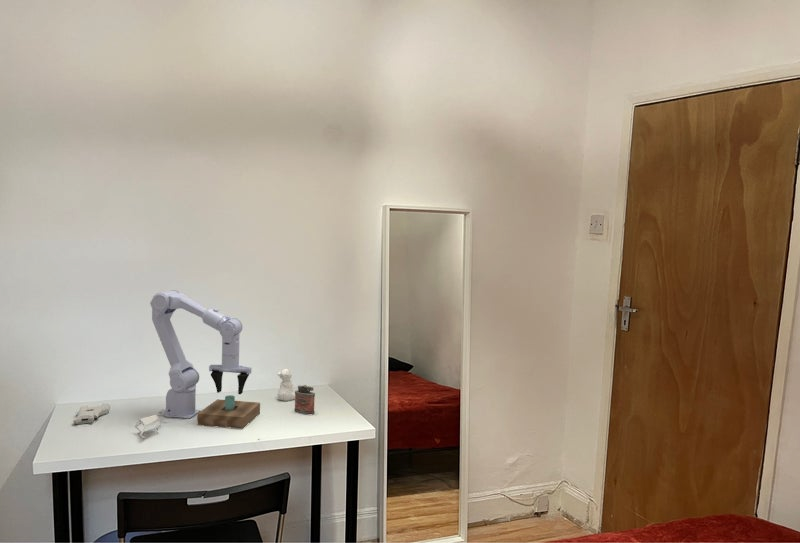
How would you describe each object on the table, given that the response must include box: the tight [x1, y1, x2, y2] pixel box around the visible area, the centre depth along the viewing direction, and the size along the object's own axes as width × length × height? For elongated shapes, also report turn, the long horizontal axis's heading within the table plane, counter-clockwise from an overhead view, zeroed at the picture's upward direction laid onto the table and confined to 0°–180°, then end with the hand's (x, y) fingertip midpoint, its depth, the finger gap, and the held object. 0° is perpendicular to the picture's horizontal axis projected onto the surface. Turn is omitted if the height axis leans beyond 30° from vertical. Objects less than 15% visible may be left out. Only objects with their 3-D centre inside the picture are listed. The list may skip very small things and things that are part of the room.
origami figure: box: [133, 414, 162, 441], centre depth 190 cm, size 12×8×5 cm
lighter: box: [293, 384, 316, 415], centre depth 218 cm, size 8×3×10 cm, turn 68°
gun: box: [72, 403, 111, 425], centre depth 205 cm, size 18×4×10 cm
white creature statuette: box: [276, 368, 295, 402], centre depth 233 cm, size 10×9×12 cm
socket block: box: [196, 399, 261, 429], centre depth 208 cm, size 16×16×4 cm
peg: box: [224, 394, 236, 411], centre depth 208 cm, size 3×3×8 cm
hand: (229, 392), depth 207 cm, fingers open, 7 cm apart
